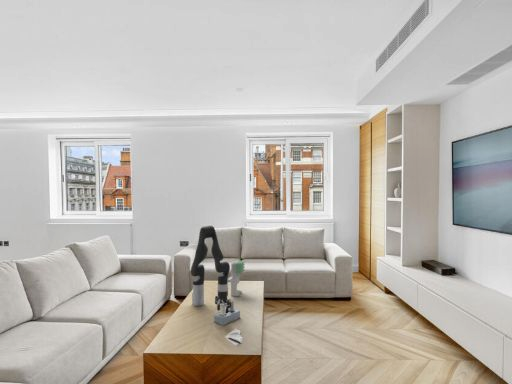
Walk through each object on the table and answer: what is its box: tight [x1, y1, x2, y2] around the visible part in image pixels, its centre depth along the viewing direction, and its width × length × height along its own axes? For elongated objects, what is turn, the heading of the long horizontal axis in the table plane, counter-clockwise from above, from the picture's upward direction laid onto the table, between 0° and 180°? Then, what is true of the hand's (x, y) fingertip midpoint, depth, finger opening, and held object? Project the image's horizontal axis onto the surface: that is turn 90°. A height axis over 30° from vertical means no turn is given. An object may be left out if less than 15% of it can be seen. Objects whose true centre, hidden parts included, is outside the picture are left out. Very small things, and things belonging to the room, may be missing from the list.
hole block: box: [213, 308, 241, 326], centre depth 237 cm, size 9×18×5 cm, turn 140°
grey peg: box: [229, 300, 235, 313], centre depth 241 cm, size 3×3×12 cm
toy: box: [228, 260, 245, 297], centre depth 295 cm, size 30×10×30 cm, turn 167°
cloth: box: [224, 328, 243, 348], centre depth 209 cm, size 26×14×2 cm, turn 173°
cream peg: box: [220, 304, 226, 316], centre depth 234 cm, size 3×3×12 cm
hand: (222, 311), depth 234 cm, fingers open, 8 cm apart
